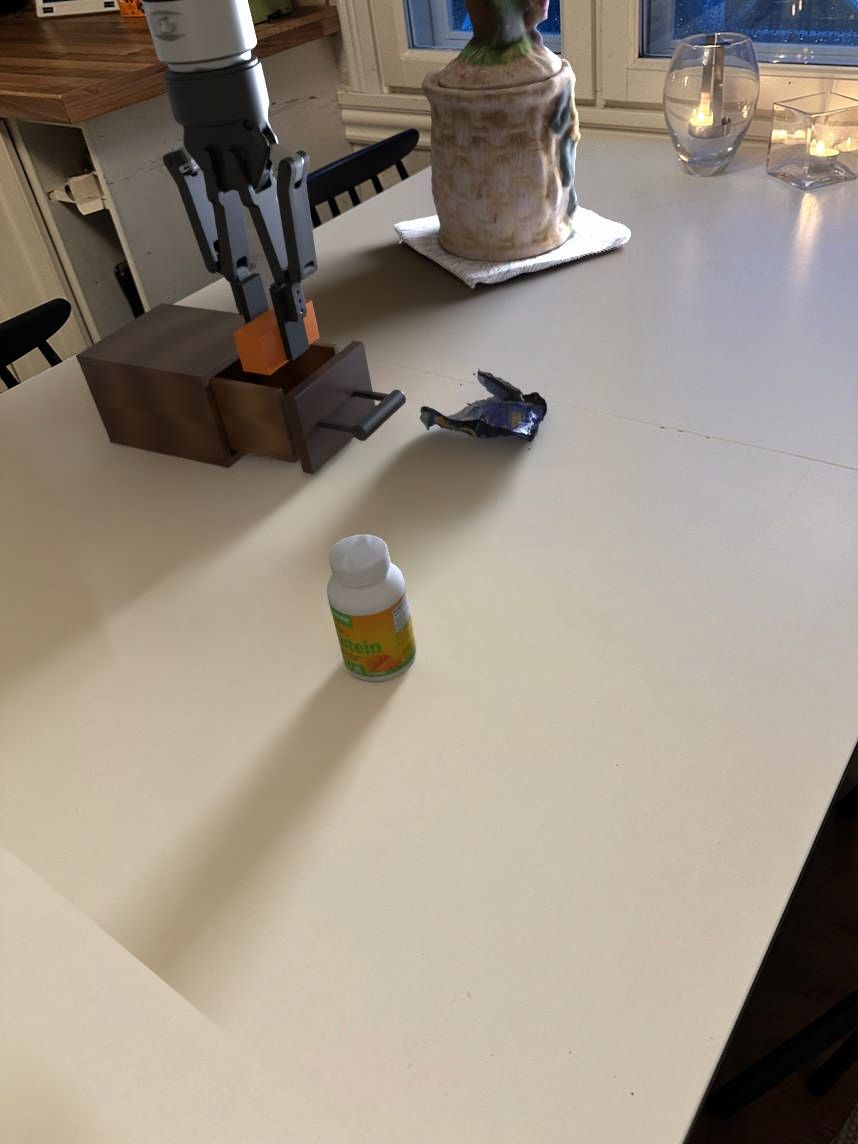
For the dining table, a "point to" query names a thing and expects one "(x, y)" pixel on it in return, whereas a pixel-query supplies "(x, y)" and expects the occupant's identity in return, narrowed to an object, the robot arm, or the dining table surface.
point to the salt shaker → (259, 261)
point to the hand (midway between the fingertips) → (281, 350)
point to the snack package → (494, 412)
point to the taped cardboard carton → (268, 341)
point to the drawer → (302, 405)
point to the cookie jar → (505, 154)
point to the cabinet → (165, 381)
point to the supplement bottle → (370, 609)
